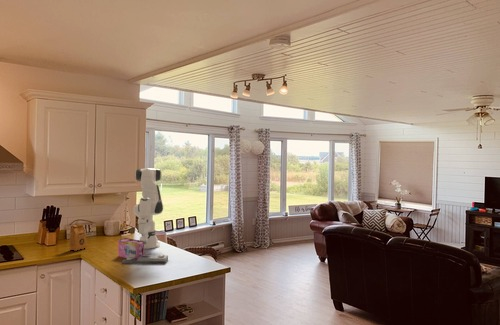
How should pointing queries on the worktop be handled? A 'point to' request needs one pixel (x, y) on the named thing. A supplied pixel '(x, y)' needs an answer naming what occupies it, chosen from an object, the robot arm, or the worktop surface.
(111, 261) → the worktop surface
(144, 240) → the pin
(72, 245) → the coffee package
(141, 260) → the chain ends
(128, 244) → the gum box
